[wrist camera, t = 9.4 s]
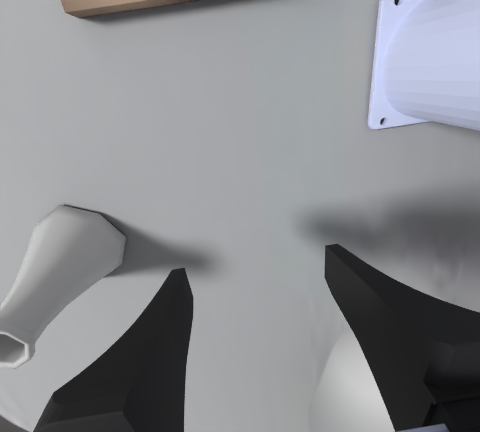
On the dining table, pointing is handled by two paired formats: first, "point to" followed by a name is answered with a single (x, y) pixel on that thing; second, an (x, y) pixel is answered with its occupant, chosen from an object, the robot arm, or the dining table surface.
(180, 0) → the pin board
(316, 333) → the dining table surface
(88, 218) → the flask
